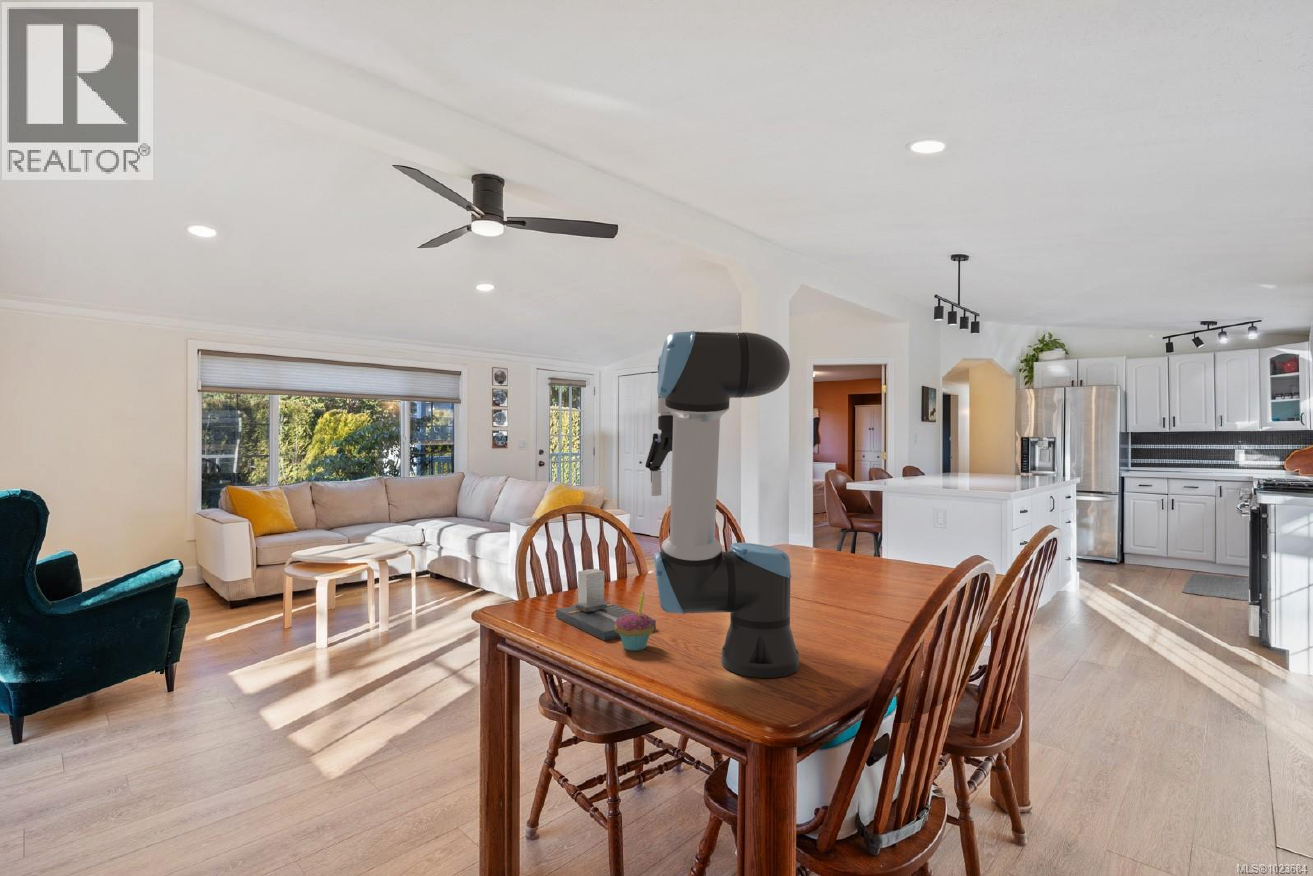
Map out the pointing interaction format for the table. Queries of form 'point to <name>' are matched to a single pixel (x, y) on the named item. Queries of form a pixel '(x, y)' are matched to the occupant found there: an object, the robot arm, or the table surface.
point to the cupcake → (634, 628)
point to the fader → (590, 590)
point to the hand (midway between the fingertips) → (672, 498)
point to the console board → (595, 620)
